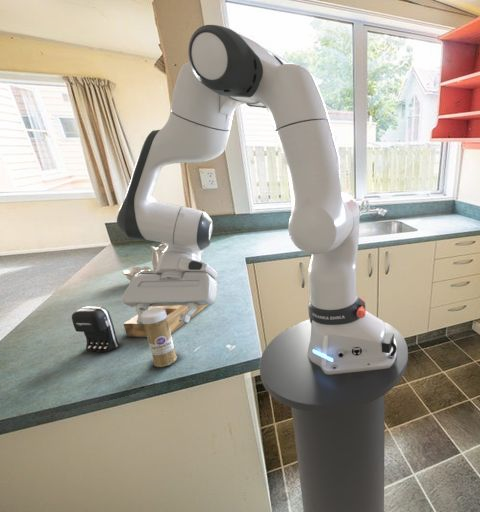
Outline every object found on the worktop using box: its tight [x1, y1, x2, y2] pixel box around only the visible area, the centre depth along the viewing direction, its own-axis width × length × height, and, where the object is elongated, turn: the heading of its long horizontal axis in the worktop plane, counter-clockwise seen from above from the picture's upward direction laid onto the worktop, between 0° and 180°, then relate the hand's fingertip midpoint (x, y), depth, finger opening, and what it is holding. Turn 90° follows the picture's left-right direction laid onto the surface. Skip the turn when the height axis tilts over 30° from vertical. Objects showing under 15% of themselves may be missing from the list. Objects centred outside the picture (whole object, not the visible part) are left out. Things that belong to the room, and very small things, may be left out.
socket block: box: [123, 305, 209, 338], centre depth 89 cm, size 11×20×4 cm, turn 178°
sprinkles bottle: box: [141, 308, 178, 368], centre depth 69 cm, size 5×5×14 cm
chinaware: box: [122, 242, 166, 282], centre depth 114 cm, size 28×17×17 cm, turn 76°
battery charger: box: [71, 306, 120, 353], centre depth 73 cm, size 7×4×11 cm, turn 87°
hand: (162, 323), depth 70 cm, fingers open, 8 cm apart
